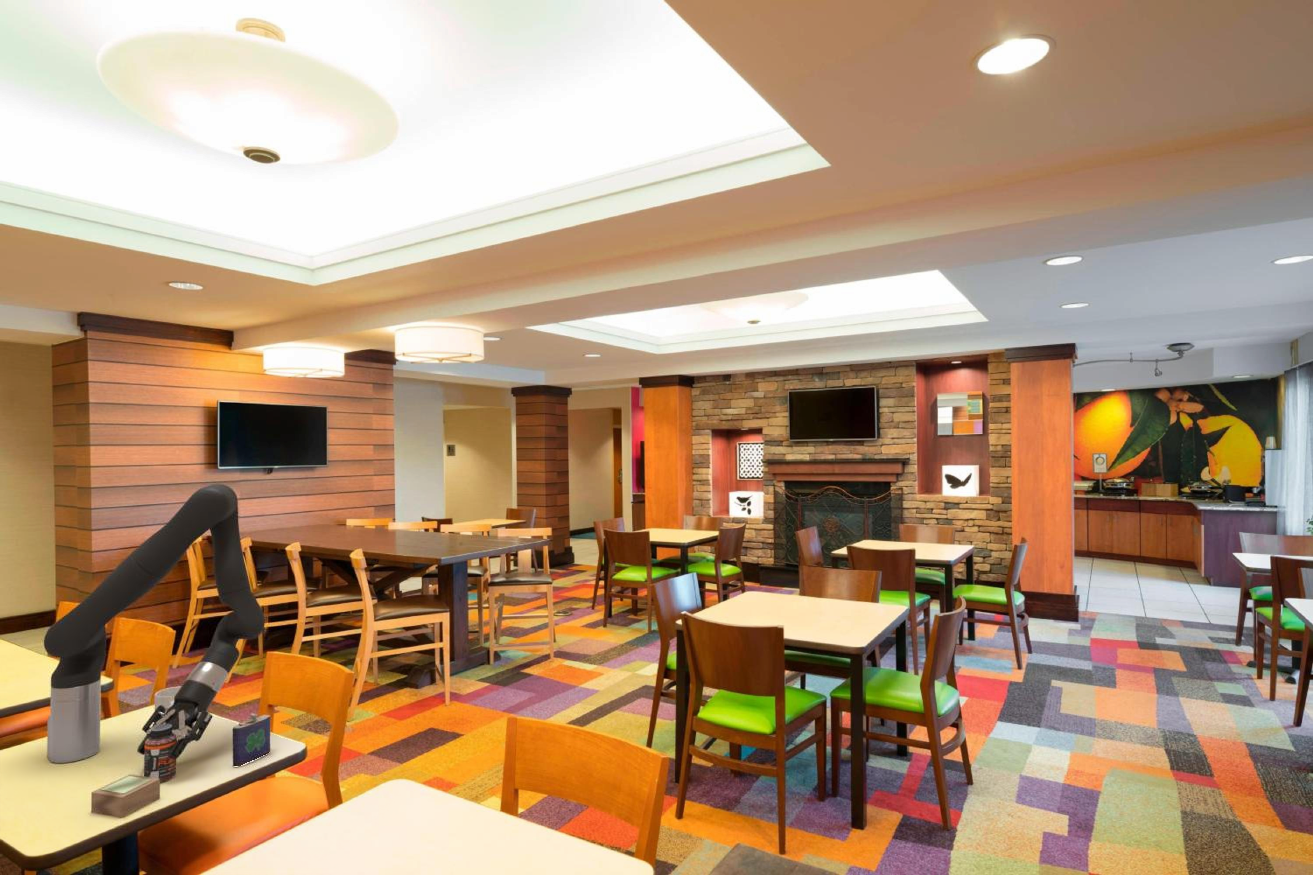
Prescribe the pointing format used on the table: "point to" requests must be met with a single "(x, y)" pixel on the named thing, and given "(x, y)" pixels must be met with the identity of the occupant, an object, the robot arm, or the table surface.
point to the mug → (167, 700)
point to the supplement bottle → (160, 753)
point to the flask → (251, 739)
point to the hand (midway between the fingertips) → (156, 755)
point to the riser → (125, 795)
